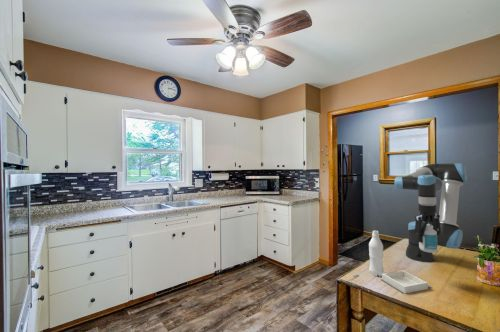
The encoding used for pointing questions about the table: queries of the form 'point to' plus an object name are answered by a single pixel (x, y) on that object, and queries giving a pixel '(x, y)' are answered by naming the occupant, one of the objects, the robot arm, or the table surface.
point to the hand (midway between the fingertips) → (428, 247)
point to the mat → (399, 290)
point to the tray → (404, 281)
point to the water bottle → (376, 255)
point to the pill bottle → (430, 239)
